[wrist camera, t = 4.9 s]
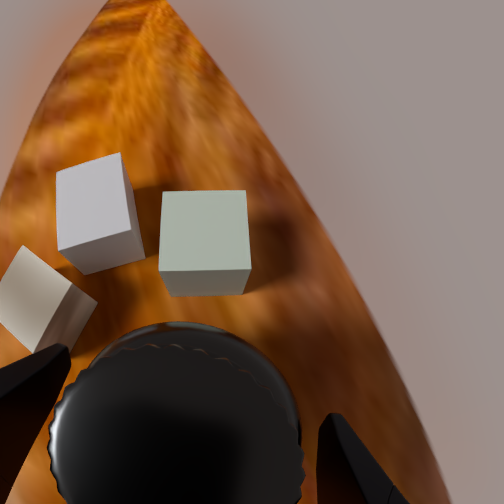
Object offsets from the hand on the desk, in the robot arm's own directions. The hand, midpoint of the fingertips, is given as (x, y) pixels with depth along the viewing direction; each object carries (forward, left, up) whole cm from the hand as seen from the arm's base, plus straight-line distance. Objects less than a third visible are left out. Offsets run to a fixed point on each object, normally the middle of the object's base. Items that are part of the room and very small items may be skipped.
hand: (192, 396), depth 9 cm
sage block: (+7, +2, -7) cm, 10 cm away
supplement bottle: (-1, 0, -7) cm, 7 cm away
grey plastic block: (+7, +8, -7) cm, 13 cm away
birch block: (+1, +9, -7) cm, 12 cm away
